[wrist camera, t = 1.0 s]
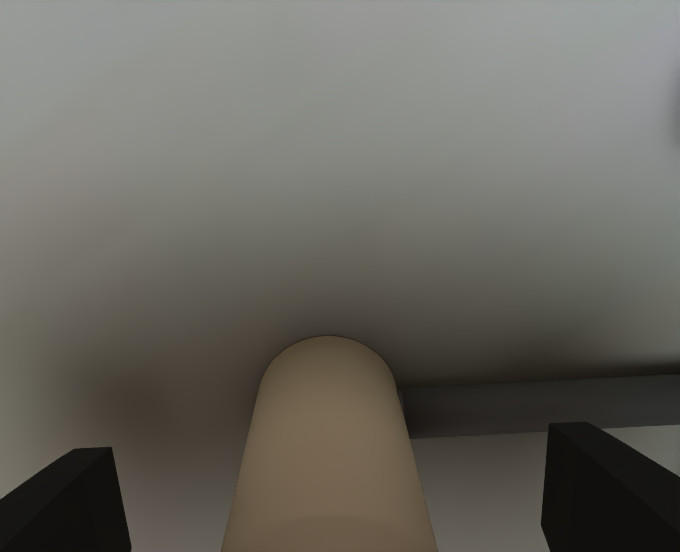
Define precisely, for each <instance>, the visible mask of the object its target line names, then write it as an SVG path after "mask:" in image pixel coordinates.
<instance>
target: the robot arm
mask: <svg viewBox="0 0 680 552" xmlns="http://www.w3.org/2000/svg"><path fill="white" fill-rule="evenodd" d="M541 527H542V530H543V532H544V535H545V538H546V541H547V543H548V546H549V549H550V552H680V477H679V476H677V475H676V474H674V473H672V472H671V471H669V470H667V469H666V468H664V467H662V466H661V465H659V464H658V463H656V462H654V461H653V460H651V459H649V458H648V457H646V456H644V455H643V454H641V453H640V452H638V451H636V450H635V449H633V448H631V447H630V446H628V445H626V444H625V443H623V442H622V441H620V440H618V439H617V438H615V437H613V436H612V435H610V434H608V433H606V432H605V431H603V430H601V429H599V428H598V427H596V426H594V425H592V424H590V423H588V422H586V421H583V422H564V423H549V428H548V441H547V453H546V466H545V479H544V491H543V504H542V517H541ZM131 548H132V547H131V542H130V537H129V532H128V527H127V522H126V517H125V512H124V507H123V502H122V497H121V492H120V487H119V482H118V477H117V472H116V467H115V462H114V457H113V452H112V447H99V448H80V449H73V450H72V451H70V452H68V453H67V454H65V455H63V456H62V457H60V458H59V459H57V460H56V461H54V462H53V463H51V464H50V465H48V466H47V467H45V468H44V469H43V470H41V471H40V472H38V473H37V474H35V475H34V476H33V477H31V478H30V479H28V480H27V481H25V482H24V483H23V484H21V485H20V486H18V487H17V488H16V489H14V490H13V491H11V492H10V493H9V494H7V495H6V496H4V497H3V498H2V499H0V552H131Z"/></svg>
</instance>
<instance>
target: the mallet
mask: <svg viewBox="0 0 680 552" xmlns="http://www.w3.org/2000/svg"><path fill="white" fill-rule="evenodd" d="M583 421H586V422H588V423H590V424H592V425H594V426H596V427H598V428H599V429H604V428H622V427H641V426H659V425H678V424H680V374H670V375H651V376H632V377H613V378H594V379H575V380H556V381H537V382H518V383H500V384H481V385H462V386H443V387H424V388H405V389H397V388H396V384H395V380H394V377H393V375H392V373H391V371H390V369H389V367H388V366H387V364H386V363H385V362H384V361H383V359H382V358H381V357H380V356H379V355H378V354H377V353H376V352H374V351H373V350H371V349H370V348H369V347H367V346H365V345H363V344H361V343H359V342H357V341H354V340H351V339H348V338H344V337H337V336H320V337H313V338H309V339H305V340H303V341H300V342H297V343H295V344H293V345H291V346H289V347H288V348H286V349H285V350H284V351H282V352H281V353H280V354H279V355H278V356H277V357H275V359H274V360H273V361H272V362H271V363H270V364H269V366H268V368H267V369H266V371H265V373H264V375H263V377H262V380H261V383H260V387H259V391H258V395H257V400H256V404H255V408H254V412H253V417H252V421H251V425H250V429H249V434H248V438H247V442H246V446H245V451H244V455H243V459H242V463H241V468H240V472H239V476H238V481H237V485H236V489H235V493H234V498H233V502H232V506H231V510H230V515H229V519H228V523H227V527H226V532H225V536H224V540H223V544H222V549H221V552H438V550H437V546H436V542H435V538H434V534H433V530H432V526H431V522H430V518H429V514H428V510H427V506H426V502H425V498H424V494H423V490H422V486H421V483H420V479H419V475H418V471H417V467H416V463H415V459H414V455H413V451H412V447H411V443H410V439H418V438H436V437H455V436H473V435H492V434H511V433H529V432H548V428H549V423H564V422H583Z"/></svg>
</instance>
